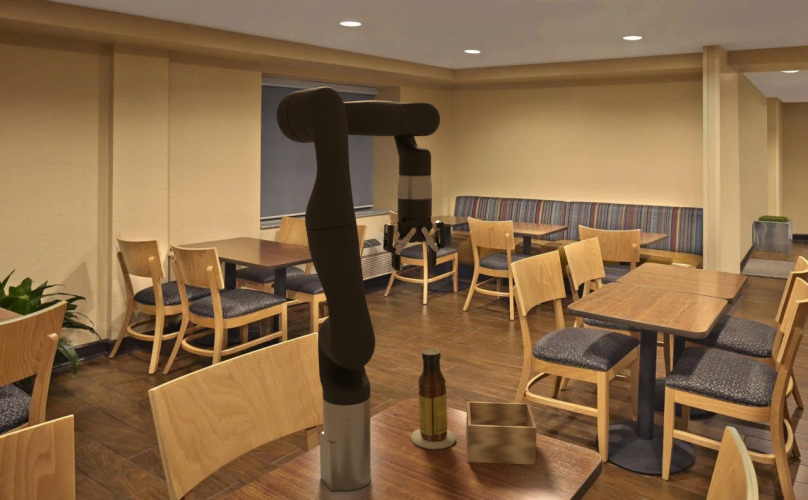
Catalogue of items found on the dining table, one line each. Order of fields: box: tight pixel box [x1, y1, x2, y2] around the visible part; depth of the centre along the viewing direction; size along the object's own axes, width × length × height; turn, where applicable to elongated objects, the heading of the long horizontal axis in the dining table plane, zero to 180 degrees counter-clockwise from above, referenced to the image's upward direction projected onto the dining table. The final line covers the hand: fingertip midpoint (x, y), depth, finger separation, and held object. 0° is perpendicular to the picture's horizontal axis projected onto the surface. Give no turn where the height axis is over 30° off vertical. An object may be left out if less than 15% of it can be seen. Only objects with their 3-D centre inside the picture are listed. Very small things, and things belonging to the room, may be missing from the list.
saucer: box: [410, 428, 457, 450], centre depth 146 cm, size 10×10×1 cm
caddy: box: [465, 400, 538, 465], centre depth 140 cm, size 14×13×8 cm
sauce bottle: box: [417, 348, 448, 441], centre depth 144 cm, size 7×6×20 cm
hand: (414, 269), depth 144 cm, fingers open, 8 cm apart
